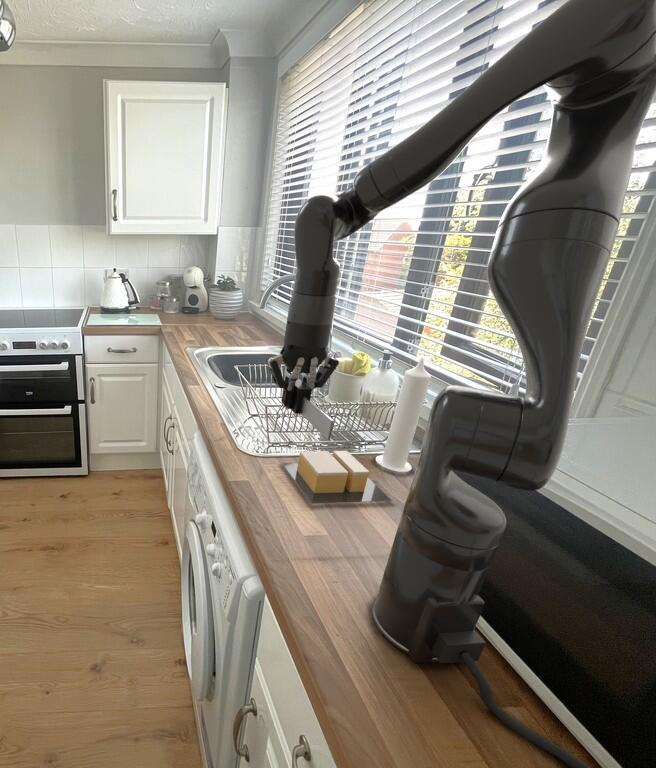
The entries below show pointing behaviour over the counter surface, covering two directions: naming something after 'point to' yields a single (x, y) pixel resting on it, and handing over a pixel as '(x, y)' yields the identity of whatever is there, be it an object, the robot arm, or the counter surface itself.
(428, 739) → the counter surface
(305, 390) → the knife
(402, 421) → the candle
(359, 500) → the board
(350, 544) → the counter surface
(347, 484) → the slice
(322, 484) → the tan rectangular block
